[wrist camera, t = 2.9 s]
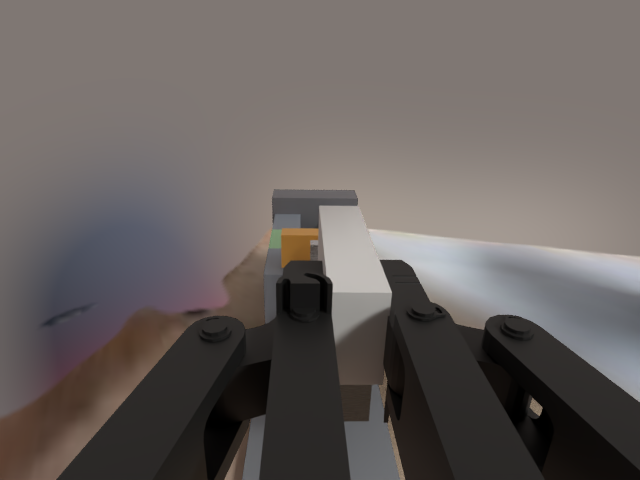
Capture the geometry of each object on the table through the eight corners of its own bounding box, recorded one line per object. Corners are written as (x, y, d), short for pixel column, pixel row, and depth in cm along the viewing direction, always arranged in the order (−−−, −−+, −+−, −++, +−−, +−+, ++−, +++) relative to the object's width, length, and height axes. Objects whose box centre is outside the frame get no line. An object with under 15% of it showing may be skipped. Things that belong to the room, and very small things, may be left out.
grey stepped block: (402, 503, 29) (424, 346, 24) (239, 506, 28) (227, 346, 23) (352, 280, 58) (358, 189, 53) (272, 280, 58) (270, 188, 53)
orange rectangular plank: (356, 268, 36) (358, 235, 35) (281, 267, 36) (281, 235, 35) (354, 260, 38) (356, 228, 37) (282, 259, 38) (281, 228, 36)
